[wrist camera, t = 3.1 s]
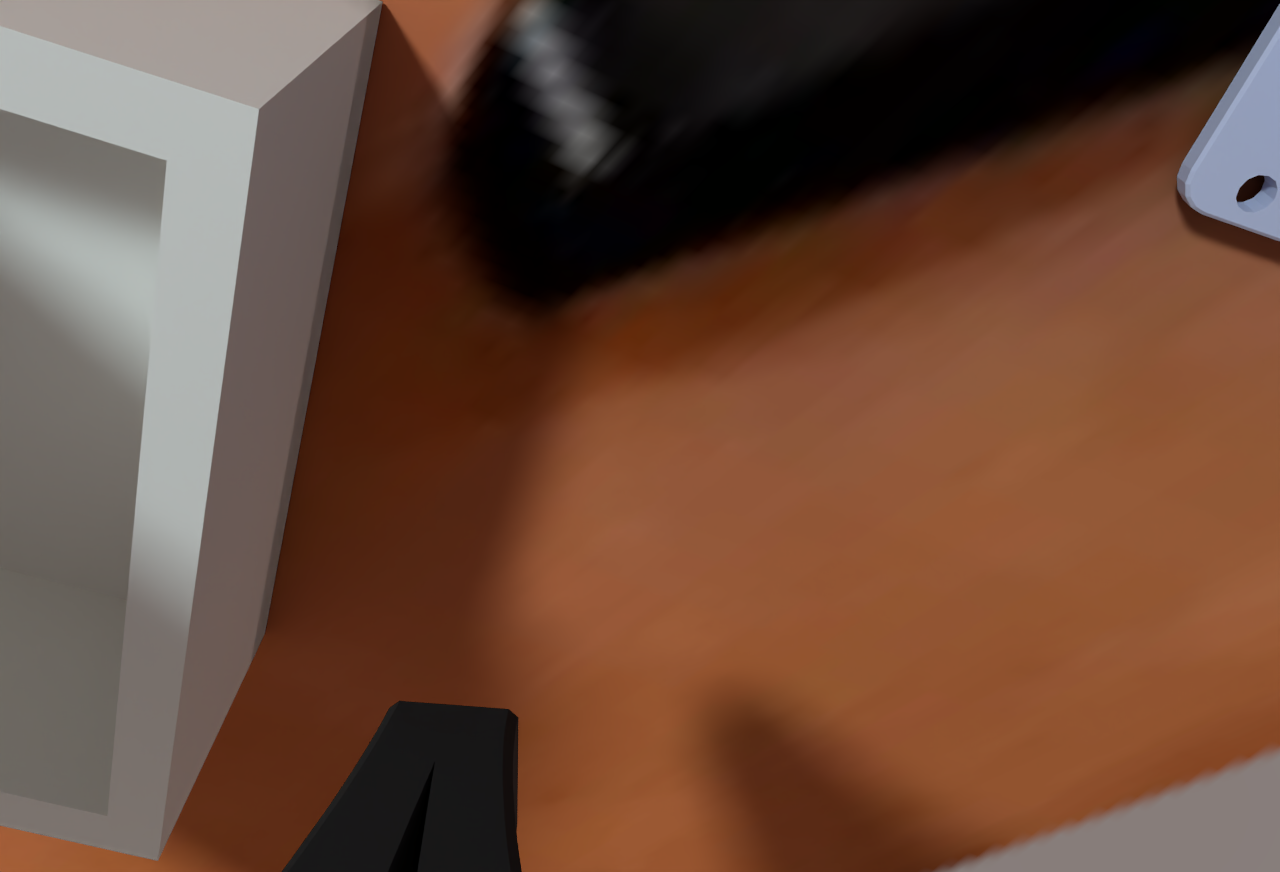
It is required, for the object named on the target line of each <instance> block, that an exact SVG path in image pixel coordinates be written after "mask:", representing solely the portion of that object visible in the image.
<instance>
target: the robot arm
mask: <svg viewBox="0 0 1280 872" xmlns="http://www.w3.org/2000/svg"><path fill="white" fill-rule="evenodd" d="M1258 175H1264V179H1265V181H1264V184H1263V186H1262V189H1261V191H1260V192H1259V193H1258V194H1257V195H1256V196H1254V197H1253V198H1252V199H1249V200H1247V201H1244V202H1237V200H1236V196H1237V193H1238V191H1239V188H1240V187H1241V186H1242V185H1243V184H1244V183H1245V182H1246V181H1247V180H1248V179H1250V178H1253V177H1255V176H1258ZM1177 190H1178V192H1179V193H1180V195H1181V197H1182V199H1183V200H1184V201H1185V202H1186V203H1187V204H1188V205H1189V206H1190V207H1191V208H1193V209H1194V210H1196V211H1197V212H1199V213H1201V214H1202V215H1205V216H1208V217H1211V218H1214V219H1217V220H1219V221H1222V222H1225V223H1228V224H1231V225H1234V226H1237V227H1239V228H1242V229H1245V230H1248V231H1251V232H1254V233H1257V234H1260V235H1262V236H1265V237H1268V238H1271V239H1274V240H1277V241H1280V4H1279V6H1278V7H1277V9H1276V11H1275V12H1274V14H1273V16H1272V17H1271V19H1270V20H1269V22H1268V24H1267V25H1266V27H1265V29H1264V30H1263V32H1262V34H1261V35H1260V37H1259V38H1258V40H1257V42H1256V43H1255V45H1254V47H1253V48H1252V50H1251V51H1250V53H1249V55H1248V56H1247V58H1246V60H1245V61H1244V63H1243V65H1242V66H1241V68H1240V69H1239V71H1238V73H1237V74H1236V76H1235V78H1234V79H1233V81H1232V82H1231V84H1230V86H1229V87H1228V89H1227V91H1226V92H1225V94H1224V96H1223V97H1222V99H1221V100H1220V102H1219V104H1218V105H1217V107H1216V109H1215V110H1214V112H1213V113H1212V115H1211V117H1210V118H1209V120H1208V122H1207V123H1206V125H1205V127H1204V128H1203V130H1202V131H1201V133H1200V135H1199V136H1198V138H1197V140H1196V141H1195V143H1194V144H1193V146H1192V148H1191V149H1190V151H1189V153H1188V154H1187V156H1186V158H1185V159H1184V161H1183V162H1182V165H1181V167H1180V170H1179V172H1178V175H1177ZM517 788H518V717H517V716H516V715H515V714H514V713H512V712H511V711H510V710H509V709H500V708H486V707H473V706H460V705H446V704H433V703H419V702H406V701H399V702H397V703H396V704H394V705H393V706H391V707H390V708H389V710H388V712H387V714H386V715H385V717H384V719H383V721H382V723H381V725H380V726H379V728H378V730H377V732H376V733H375V735H374V737H373V738H372V740H371V742H370V743H369V745H368V747H367V748H366V750H365V752H364V753H363V755H362V756H361V758H360V760H359V761H358V763H357V764H356V766H355V768H354V769H353V771H352V772H351V774H350V775H349V777H348V778H347V780H346V781H345V783H344V784H343V786H342V787H341V789H340V790H339V792H338V793H337V795H336V796H335V798H334V799H333V801H332V802H331V804H330V805H329V807H328V808H327V810H326V811H325V812H324V814H323V815H322V817H321V818H320V819H319V821H318V822H317V824H316V825H315V826H314V828H313V829H312V831H311V832H310V833H309V835H308V836H307V838H306V839H305V840H304V842H303V843H302V845H301V846H300V847H299V849H298V850H297V852H296V853H295V854H294V856H293V857H292V859H291V860H290V861H289V863H288V864H287V865H286V867H285V868H284V869H283V871H282V872H521V864H520V857H519V850H518V843H517V834H516V829H517Z"/></svg>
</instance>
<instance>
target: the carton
mask: <svg viewBox="0 0 1280 872" xmlns="http://www.w3.org/2000/svg"><path fill="white" fill-rule="evenodd" d="M382 3H383V2H382V1H379V0H0V826H5V827H9V828H14V829H18V830H23V831H27V832H32V833H36V834H41V835H45V836H49V837H54V838H58V839H63V840H67V841H72V842H76V843H81V844H85V845H90V846H94V847H99V848H103V849H108V850H112V851H116V852H121V853H125V854H130V855H134V856H139V857H143V858H148V859H152V860H157V861H158V860H159V857H160V855H161V853H162V851H163V849H164V847H165V845H166V843H167V840H168V838H169V836H170V834H171V832H172V830H173V828H174V826H175V823H176V821H177V819H178V817H179V815H180V813H181V811H182V809H183V806H184V804H185V802H186V800H187V798H188V796H189V794H190V792H191V789H192V787H193V785H194V783H195V781H196V779H197V777H198V775H199V773H200V770H201V768H202V766H203V764H204V762H205V760H206V758H207V756H208V753H209V751H210V749H211V747H212V745H213V743H214V741H215V739H216V736H217V734H218V732H219V730H220V728H221V726H222V724H223V722H224V719H225V717H226V715H227V713H228V711H229V709H230V707H231V705H232V702H233V700H234V698H235V696H236V694H237V692H238V690H239V688H240V685H241V683H242V681H243V679H244V677H245V675H246V673H247V671H248V669H249V666H250V664H251V662H252V660H253V658H254V656H255V654H256V652H257V649H258V647H259V645H260V643H261V641H262V639H263V637H264V635H265V631H266V625H267V620H268V614H269V609H270V604H271V598H272V593H273V588H274V582H275V577H276V571H277V566H278V561H279V555H280V550H281V545H282V539H283V534H284V529H285V523H286V518H287V512H288V507H289V502H290V496H291V491H292V486H293V480H294V475H295V470H296V464H297V459H298V453H299V448H300V443H301V437H302V432H303V427H304V421H305V416H306V411H307V405H308V400H309V394H310V389H311V384H312V378H313V373H314V368H315V362H316V357H317V352H318V346H319V341H320V335H321V330H322V325H323V319H324V314H325V309H326V303H327V298H328V293H329V287H330V282H331V276H332V271H333V266H334V260H335V255H336V250H337V244H338V239H339V234H340V228H341V223H342V217H343V212H344V207H345V201H346V196H347V191H348V185H349V180H350V175H351V169H352V164H353V158H354V153H355V148H356V142H357V137H358V132H359V126H360V121H361V116H362V110H363V105H364V99H365V94H366V89H367V83H368V78H369V73H370V67H371V62H372V57H373V51H374V46H375V40H376V35H377V30H378V24H379V19H380V14H381V8H382Z"/></svg>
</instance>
